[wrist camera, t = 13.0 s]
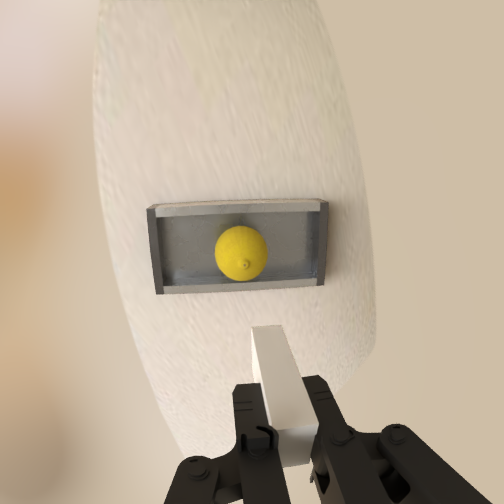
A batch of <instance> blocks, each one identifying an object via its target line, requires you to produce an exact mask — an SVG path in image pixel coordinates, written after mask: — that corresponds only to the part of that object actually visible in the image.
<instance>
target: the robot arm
mask: <svg viewBox="0 0 504 504" xmlns="http://www.w3.org/2000/svg"><path fill="white" fill-rule="evenodd" d="M251 337H252V371H253V376H254V382H255V383H251V384H237V385H236V387H235V389H234V391H233V393H232V395H233V407H234V418H235V429H236V444H235V446H234V448H233V449H232V450H231V451H230V452H229V453H227V454H225V455H223V456H220V457H217V458H214V459H210V458H207V457H204V456H192V457H188V458H186V459H185V460H183V461H182V462H181V463H180V465H179V466H178V468H177V471H176V474H175V476H174V478H173V481H172V484H171V486H170V489H169V491H168V494H167V497H166V499H165V502H164V504H228V503H231V502H234V501H237V500H240V499H243V503H244V504H291V502H290V498H289V494H288V489H287V486H286V481H285V477H284V473H283V468H284V467H291V466H297V465H303V464H308V463H309V462H310V458H311V459H312V462H313V465H314V467H313V470H312V473H311V477H310V483H312V482H313V480H314V481H315V484H316V487H317V491H318V494H319V497H320V500H321V504H492V503H491V502H490V501H488V500H487V499H486V498H485V497H484V496H483V495H482V494H480V493H479V492H478V491H477V490H476V489H475V488H474V487H473V486H472V485H471V484H469V483H468V482H467V481H466V480H465V479H464V478H463V477H462V476H461V475H459V474H458V473H457V472H456V471H455V470H454V469H453V468H452V467H451V466H450V465H448V464H447V463H446V462H445V461H444V460H443V459H442V458H441V457H440V456H439V455H438V454H436V453H435V452H434V451H433V450H432V449H431V448H430V447H429V446H428V445H427V444H426V443H425V442H424V441H422V440H421V439H420V438H419V437H418V436H417V435H416V434H415V433H414V432H413V431H412V430H411V429H410V428H408V427H406V426H405V425H401V424H391V425H388V426H386V427H385V428H384V429H383V430H382V432H381V433H362V432H358V431H356V430H355V429H354V428H352V427H351V426H349V425H347V424H346V422H345V420H344V418H343V416H342V414H341V411H340V409H339V407H338V405H337V403H336V401H335V399H334V397H333V394H332V392H331V391H330V388H329V386H328V384H327V382H326V381H325V380H324V379H323V378H321V377H320V376H319V375H315V376H308V377H301V375H300V372H299V370H298V367H297V365H296V362H295V359H294V357H293V354H292V352H291V349H290V346H289V344H288V341H287V338H286V336H285V333H284V331H283V328H282V325H271V326H258V327H251Z"/></svg>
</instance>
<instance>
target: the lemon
mask: <svg viewBox="0 0 504 504" xmlns="http://www.w3.org/2000/svg"><path fill="white" fill-rule="evenodd" d="M215 259H216V262H217V265H218V267H219V269H220V270H221V271H222V272H223V273H224V274H225V275H226V276H228V277H229V278H231V279H233V280H237V281H247V280H250V279H253V278H255V277H256V276H258V275H259V274H260V273H261V272H262V271H263V269H264V267H265V266H266V262H267V259H268V249H267V245H266V242H265V240H264V239H263V237H262V236H261V235H260V234H259V233H258V232H257V231H256V230H254V229H252V228H250V227H247V226H235V227H232V228H230V229H228V230H226V231H225V232H224V233H223V234H222V235H221V236H220V237H219V239H218V241H217V243H216V246H215Z"/></svg>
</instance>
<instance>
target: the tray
mask: <svg viewBox="0 0 504 504" xmlns="http://www.w3.org/2000/svg"><path fill="white" fill-rule="evenodd" d="M146 210H147V222H148V233H149V243H150V252H151V260H152V268H153V276H154V283H155V290H156V294H186V293H211V292H231V291H249V290H266V289H281V288H295V287H308V286H321V285H324V280H325V266H326V249H327V230H328V202H326V201H323V200H321V199H256V200H226V201H204V202H186V203H170V204H155V205H152V206H150V207H149V208H147V209H146ZM235 226H247V227H250V228H252V229H254V230H256V231H257V232H258V233H259V234H260V235H261V236H262V237H263V239H264V240H265V242H266V245H267V249H268V259H267V262H266V266H265V267H264V269H263V271H262V272H261V273H260V274H259V275H258V276H256V277H255V278H253V279H250V280H247V281H237V280H233V279H231V278H229V277H228V276H226V275H225V274H224V273H223V272H222V271H221V270H220V269H219V267H218V265H217V262H216V259H215V246H216V243H217V241H218V239H219V237H220V236H221V235H222V234H223V233H224V232H225V231H226V230H228V229H230V228H232V227H235Z"/></svg>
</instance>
